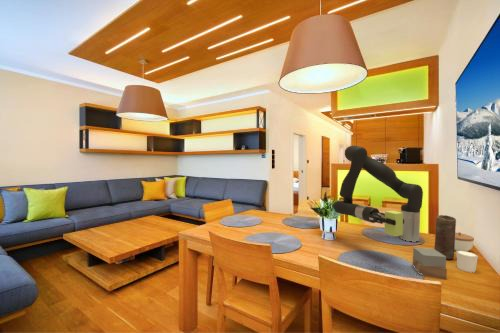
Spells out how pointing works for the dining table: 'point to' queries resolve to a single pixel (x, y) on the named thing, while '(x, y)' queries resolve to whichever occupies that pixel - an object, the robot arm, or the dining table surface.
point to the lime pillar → (397, 228)
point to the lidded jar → (463, 242)
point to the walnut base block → (430, 270)
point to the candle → (445, 235)
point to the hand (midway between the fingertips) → (399, 222)
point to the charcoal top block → (429, 257)
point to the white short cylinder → (466, 261)
